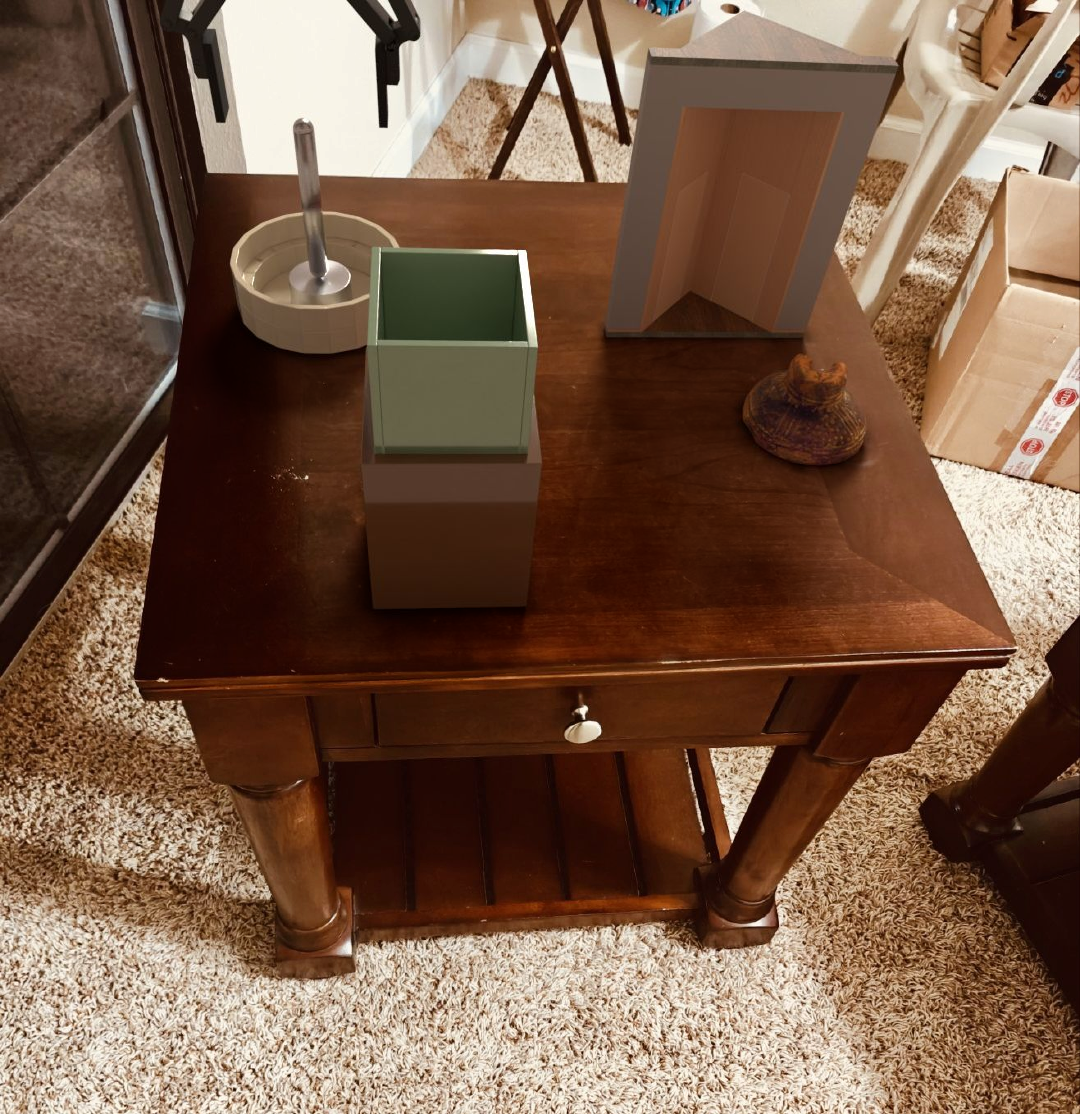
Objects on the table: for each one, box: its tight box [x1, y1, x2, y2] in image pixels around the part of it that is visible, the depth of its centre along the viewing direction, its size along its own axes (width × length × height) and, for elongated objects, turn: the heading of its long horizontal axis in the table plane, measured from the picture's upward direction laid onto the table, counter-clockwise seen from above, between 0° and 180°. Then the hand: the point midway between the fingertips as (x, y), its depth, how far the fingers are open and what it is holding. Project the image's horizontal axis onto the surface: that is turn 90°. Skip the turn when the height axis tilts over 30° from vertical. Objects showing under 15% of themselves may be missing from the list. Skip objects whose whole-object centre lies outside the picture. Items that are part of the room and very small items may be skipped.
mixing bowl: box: [229, 210, 401, 355], centre depth 98 cm, size 16×16×6 cm
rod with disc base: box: [289, 117, 352, 305], centre depth 92 cm, size 6×6×19 cm
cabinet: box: [603, 9, 900, 339], centre depth 95 cm, size 21×10×28 cm, turn 95°
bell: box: [742, 353, 868, 466], centre depth 92 cm, size 12×12×7 cm
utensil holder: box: [360, 247, 543, 610], centre depth 72 cm, size 12×12×25 cm
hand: (304, 118), depth 85 cm, fingers open, 13 cm apart
